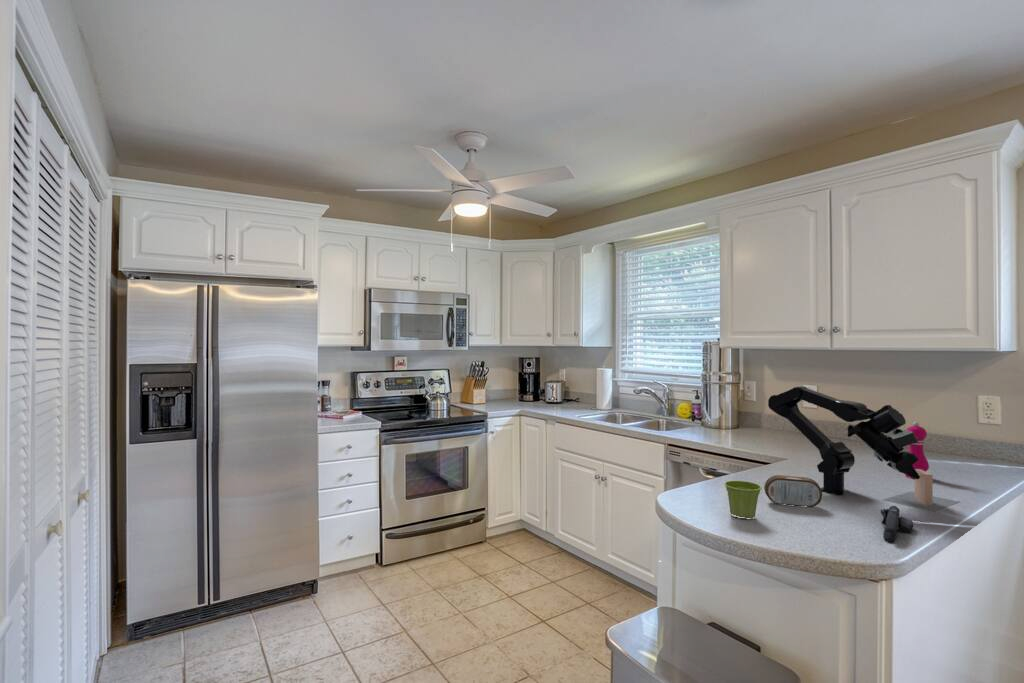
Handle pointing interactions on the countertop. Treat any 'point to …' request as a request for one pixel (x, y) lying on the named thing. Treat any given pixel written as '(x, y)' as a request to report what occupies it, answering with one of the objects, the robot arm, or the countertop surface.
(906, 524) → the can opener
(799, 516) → the countertop surface
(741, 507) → the plant pot
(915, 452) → the pepper mill
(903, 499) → the mat
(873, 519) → the countertop surface
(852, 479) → the countertop surface
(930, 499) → the tile
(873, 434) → the robot arm
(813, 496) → the tin
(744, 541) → the countertop surface
